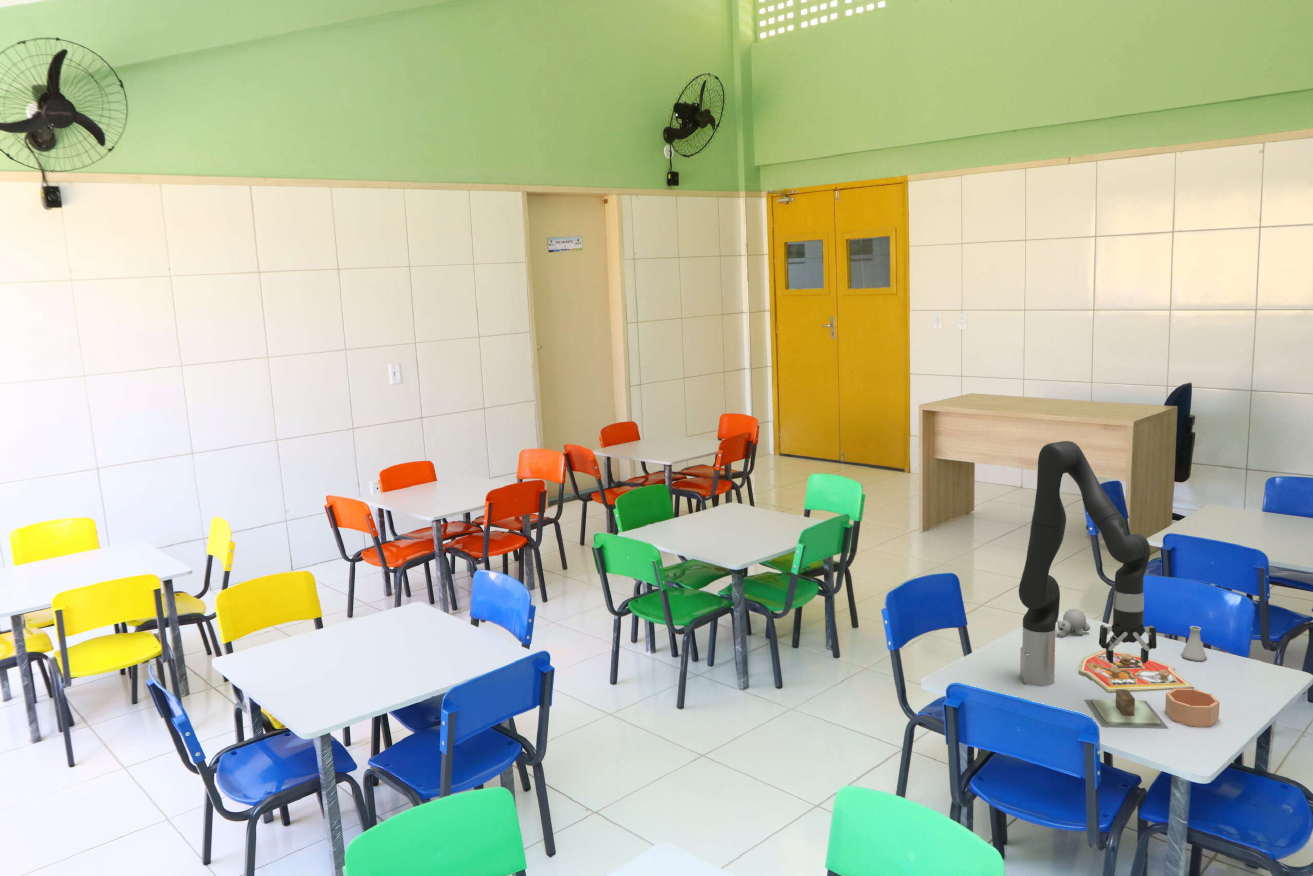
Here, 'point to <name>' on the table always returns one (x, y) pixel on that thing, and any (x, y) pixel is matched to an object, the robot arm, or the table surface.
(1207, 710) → the bowl
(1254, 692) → the table surface
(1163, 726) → the mat
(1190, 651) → the flask
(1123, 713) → the lid
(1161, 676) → the knob puzzle
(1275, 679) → the table surface
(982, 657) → the table surface
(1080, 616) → the round bodied animal figurine
